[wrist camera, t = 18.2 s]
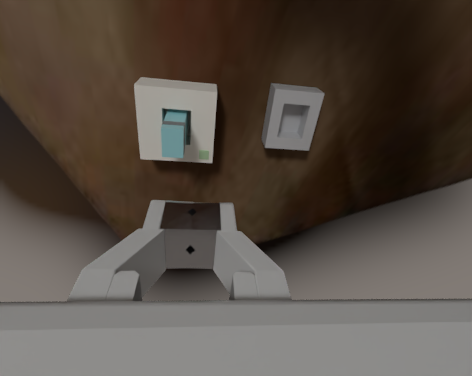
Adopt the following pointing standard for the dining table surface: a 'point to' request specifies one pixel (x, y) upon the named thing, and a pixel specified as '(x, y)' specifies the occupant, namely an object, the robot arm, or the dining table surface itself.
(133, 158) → the dining table surface
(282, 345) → the robot arm
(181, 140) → the plug
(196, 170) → the dining table surface
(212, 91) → the port block
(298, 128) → the holster
